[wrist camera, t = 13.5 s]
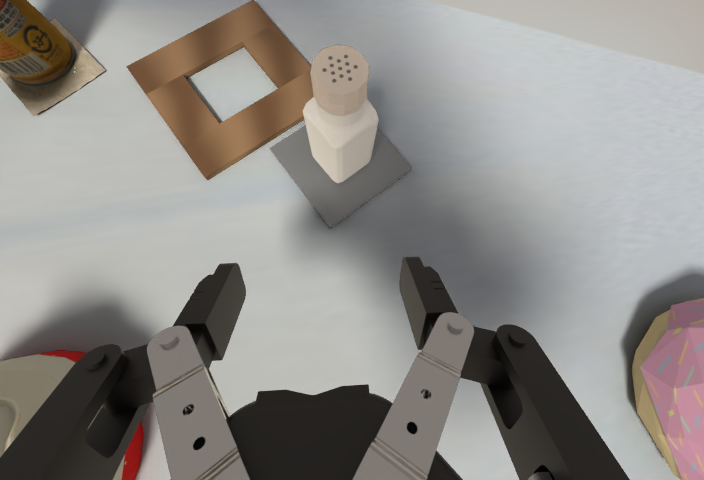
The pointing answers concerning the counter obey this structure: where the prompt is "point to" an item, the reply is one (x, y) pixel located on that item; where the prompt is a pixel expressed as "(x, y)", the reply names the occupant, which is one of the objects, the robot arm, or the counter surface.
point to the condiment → (40, 57)
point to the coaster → (352, 192)
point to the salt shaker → (340, 112)
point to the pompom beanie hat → (32, 391)
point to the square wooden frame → (190, 111)
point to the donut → (674, 386)
